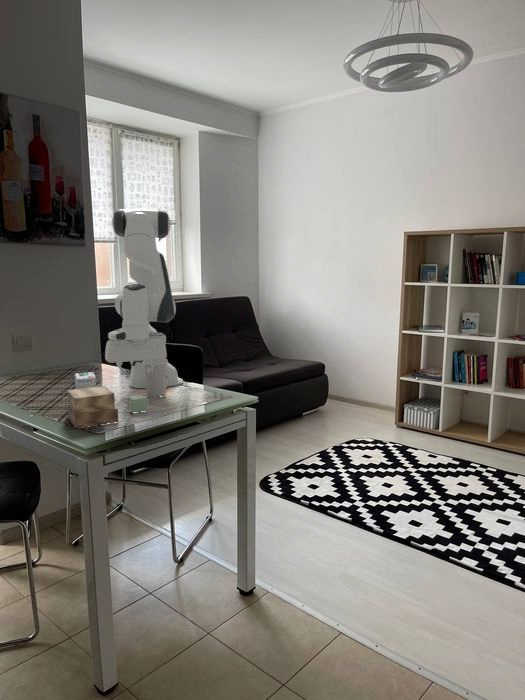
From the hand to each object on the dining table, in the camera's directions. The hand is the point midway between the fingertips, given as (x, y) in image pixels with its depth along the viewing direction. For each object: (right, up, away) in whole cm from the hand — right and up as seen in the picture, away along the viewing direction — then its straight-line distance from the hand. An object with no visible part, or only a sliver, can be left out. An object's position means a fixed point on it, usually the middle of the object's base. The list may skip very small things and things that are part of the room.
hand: (136, 373), depth 175 cm
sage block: (0, -13, +3) cm, 13 cm away
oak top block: (-12, -10, -9) cm, 19 cm away
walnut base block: (-12, -15, -9) cm, 21 cm away
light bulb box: (-21, -12, +11) cm, 27 cm away
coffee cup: (+2, -10, +24) cm, 26 cm away
